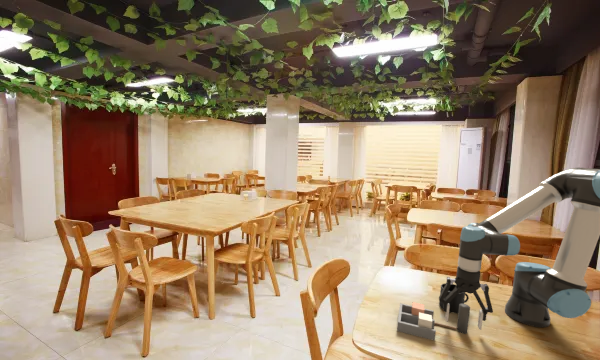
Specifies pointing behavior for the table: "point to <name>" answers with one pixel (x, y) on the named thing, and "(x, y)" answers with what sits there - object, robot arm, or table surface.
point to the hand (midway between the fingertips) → (462, 323)
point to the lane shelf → (414, 323)
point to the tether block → (461, 324)
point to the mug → (454, 299)
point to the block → (425, 320)
